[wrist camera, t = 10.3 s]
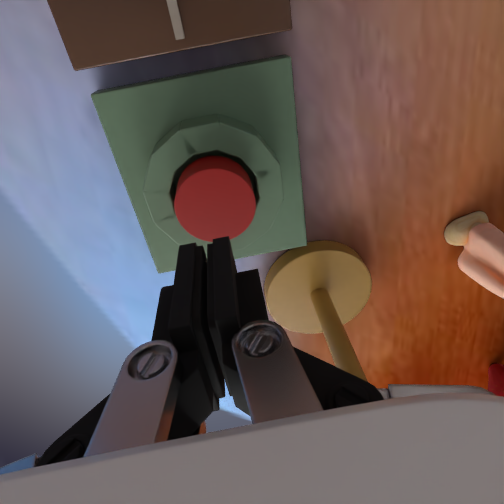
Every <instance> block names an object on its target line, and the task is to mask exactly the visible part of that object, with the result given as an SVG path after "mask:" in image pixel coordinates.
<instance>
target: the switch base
mask: <svg viewBox="0 0 504 504" xmlns="http://www.w3.org/2000/svg"><path fill="white" fill-rule="evenodd" d="M91 97H92V100H93V103H94V105H95V108H96V111H97V113H98V116H99V119H100V121H101V124H102V126H103V129H104V132H105V134H106V137H107V140H108V142H109V145H110V147H111V150H112V153H113V155H114V158H115V161H116V163H117V166H118V168H119V171H120V174H121V176H122V179H123V182H124V184H125V187H126V189H127V192H128V195H129V197H130V200H131V203H132V205H133V208H134V211H135V213H136V216H137V218H138V221H139V224H140V226H141V229H142V232H143V234H144V237H145V239H146V242H147V245H148V247H149V250H150V253H151V255H152V258H153V260H154V263H155V266H156V268H157V271H158V273H164V272H169V271H174V270H176V265H177V257H178V250H179V246H180V245H185V244H190V243H195V242H196V244H197V246H202V245H203V247H204V250H205V254H206V258H207V244H212V243H213V242H208V241H204V240H201V239H198V238H196V237H194V236H192V235H191V234H189V233H188V232H187V231H186V230H185V229H184V228H183V227H182V226H181V224H180V223H179V221H178V219H177V217H176V214H175V209H174V200H175V195H176V190H177V185H178V181H179V178H180V176H181V174H182V172H183V171H184V169H185V168H186V167H187V166H188V165H189V164H191V163H192V162H193V161H195V160H197V159H199V158H202V157H206V156H223V157H227V158H229V159H232V160H233V161H235V162H237V163H238V164H239V165H241V166H242V167H243V168H244V170H245V171H246V172H247V174H248V176H249V178H250V180H251V184H252V187H253V191H254V195H255V199H256V211H255V215H254V218H253V220H252V222H251V224H250V225H249V227H248V228H247V229H246V230H245V231H244V232H243V233H241V234H240V235H239V236H237V237H235V238H233V239H230V243H231V247H232V252H233V256H234V259H238V258H243V257H248V256H254V255H259V254H264V253H270V252H275V251H280V250H285V249H291V248H296V247H301V246H306V245H307V237H306V225H305V214H304V202H303V190H302V179H301V167H300V156H299V144H298V132H297V121H296V109H295V98H294V86H293V74H292V63H291V57H290V56H288V55H280V56H274V57H269V58H264V59H259V60H253V61H248V62H243V63H238V64H232V65H227V66H222V67H217V68H211V69H206V70H201V71H196V72H190V73H185V74H180V75H175V76H169V77H164V78H159V79H154V80H148V81H143V82H138V83H133V84H127V85H122V86H117V87H112V88H106V89H101V90H97V91H96V92H94V93H92V94H91Z"/></svg>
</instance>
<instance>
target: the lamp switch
mask: <svg viewBox="0 0 504 504" xmlns="http://www.w3.org/2000/svg"><path fill="white" fill-rule="evenodd" d="M174 209H175V214H176V217H177V219H178V221H179V223H180V224H181V226H182V227H183V228H184V229H185V230H186V231H187V232H188V233H189V234H191V235H192V236H194V237H196V238H198V239H201V240H204V241H208V242H213V239H216V238H221V237H226V236H229V239H233V238H235V237H237V236H239V235H240V234H241V233H243V232H244V231H245V230H246V229H247V228H248V227H249V225H250V224H251V222H252V220H253V218H254V215H255V211H256V199H255V195H254V191H253V187H252V184H251V180H250V178H249V176H248V174H247V172H246V171H245V170H244V168H243V167H242V166H241V165H239V164H238V163H237V162H235V161H233V160H232V159H229V158H227V157H223V156H206V157H202V158H199V159H197V160H195V161H193V162H192V163H191V164H189V165H188V166H187V167H186V168H185V169H184V171H183V172H182V174H181V176H180V178H179V181H178V185H177V190H176V195H175V200H174Z"/></svg>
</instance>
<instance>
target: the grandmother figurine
mask: <svg viewBox="0 0 504 504" xmlns="http://www.w3.org/2000/svg"><path fill="white" fill-rule="evenodd" d="M444 236H445V239H446V241H447V242H448V243H449V244H451V245H455V246H461V245H463V246H464V250H463V252H462V253H461V254H460V256H459V259H458V266H459V268H460V269H461V270H462V271H463V272H465V273H466V274H467V275H468V276H470V277H471V278H472V279H473V280H475V281H476V282H478V283H479V284H481V285H482V286H483V287H485V288H486V289H488V290H489V291H491V292H493V293H494V294H496V295H498V296H500V297H501V298H503V299H504V233H503V232H502V231H501V230H499V229H498V228H497V227H495V226H494V225H493V224H491V223H489V220H488V217H487V215H486V214H485V213H484V212H482V211H477V212H474V213H471V214H468V215H466V216H463V217H461V218H458V219H456V220H454V221H453V222H451V223H450V224H449V225H448V226H447V227H446V229H445V232H444Z"/></svg>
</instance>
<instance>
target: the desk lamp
mask: <svg viewBox="0 0 504 504" xmlns="http://www.w3.org/2000/svg"><path fill="white" fill-rule="evenodd" d="M371 287H372V281H371V275H370V272H369V270H368V268H367V267H366V265H365V264H364V262H363V261H362V259H361V257H360V256H359V255H358V254H357V253H356V252H355V251H354V250H353V249H352V248H350V247H348V246H346V245H344V244H342V243H339V242H334V241H327V240H322V241H312V242H308V243H307V245H306V246H301V247H296V248H292V249H290V250H289V251H287V252H286V253H284V254H283V255H282V256H281V257H279V258H278V259H277V260H276V261H275V263H274V264H273V265H272V267H271V268H270V270H269V272H268V274H267V276H266V279H265V284H264V294H265V299H266V304H267V308H268V311H269V313H270V315H271V316H272V318H273V319H274V320H275V321H276V322H277V323H278V324H280V325H281V326H282V327H284V328H286V329H288V330H291V331H294V332H298V333H307V334H312V333H321V332H323V333H324V336H325V338H326V341H327V344H328V347H329V349H330V352H331V355H332V357H333V360H334V363H335V366H336V367H337V368H340V369H342V370H344V371H346V372H348V373H350V374H352V375H354V376H357V377H359V378H361V379H363V380H365V381H367V379H366V377H365V374H364V372H363V370H362V368H361V365H360V363H359V361H358V359H357V356H356V354H355V352H354V349H353V347H352V345H351V343H350V340H349V338H348V336H347V334H346V331H345V329H344V327H343V325H344V324H345V323H347V322H349V321H350V320H351V319H353V318H354V317H355V316H356V315H357V314H358V313H359V312H360V311H361V310H362V309H363V307H364V306H365V304H366V303H367V301H368V299H369V296H370V293H371ZM367 382H368V381H367Z"/></svg>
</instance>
